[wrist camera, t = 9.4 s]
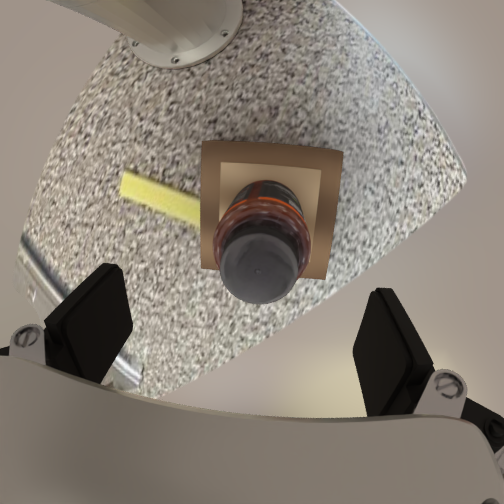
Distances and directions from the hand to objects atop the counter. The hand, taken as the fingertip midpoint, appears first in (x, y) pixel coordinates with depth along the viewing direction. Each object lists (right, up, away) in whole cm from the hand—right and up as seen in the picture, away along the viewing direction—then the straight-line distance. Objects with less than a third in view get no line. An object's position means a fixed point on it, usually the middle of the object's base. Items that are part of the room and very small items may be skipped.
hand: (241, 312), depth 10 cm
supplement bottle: (+2, +6, +15) cm, 16 cm away
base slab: (+2, +7, +18) cm, 20 cm away
